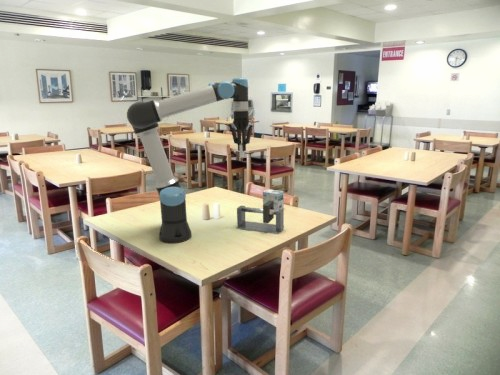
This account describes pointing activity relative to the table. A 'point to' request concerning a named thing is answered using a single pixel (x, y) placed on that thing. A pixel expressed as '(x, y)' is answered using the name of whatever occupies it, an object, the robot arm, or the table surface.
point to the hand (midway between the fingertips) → (242, 157)
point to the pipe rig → (260, 226)
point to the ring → (266, 207)
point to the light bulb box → (274, 198)
